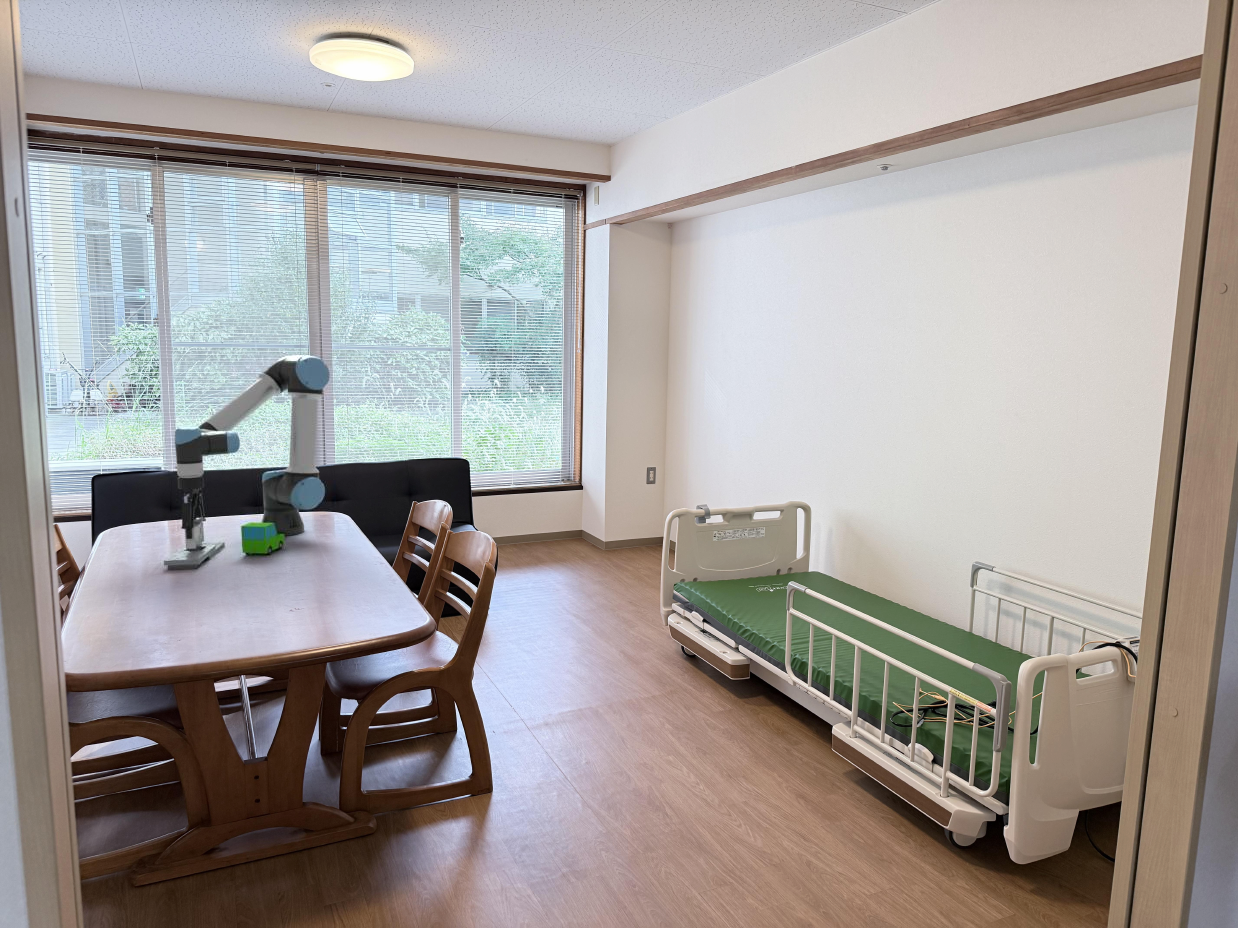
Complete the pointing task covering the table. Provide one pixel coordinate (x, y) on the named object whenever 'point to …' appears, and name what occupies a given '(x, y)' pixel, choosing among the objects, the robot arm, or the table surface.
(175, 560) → the plate with square hole
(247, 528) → the toy car
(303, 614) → the table surface
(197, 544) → the pin
